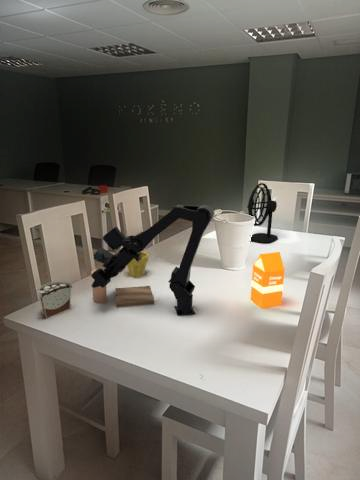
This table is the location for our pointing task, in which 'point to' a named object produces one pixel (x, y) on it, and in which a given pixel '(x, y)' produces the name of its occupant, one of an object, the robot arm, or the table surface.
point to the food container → (55, 298)
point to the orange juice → (267, 280)
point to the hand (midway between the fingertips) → (95, 284)
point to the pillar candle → (99, 292)
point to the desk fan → (269, 207)
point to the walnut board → (134, 296)
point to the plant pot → (138, 266)
